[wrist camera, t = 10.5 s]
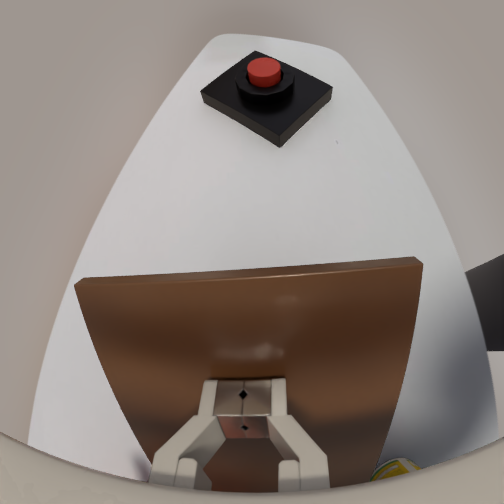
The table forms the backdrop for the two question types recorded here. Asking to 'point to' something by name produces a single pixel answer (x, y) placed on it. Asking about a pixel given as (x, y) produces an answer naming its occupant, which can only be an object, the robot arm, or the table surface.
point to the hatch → (261, 355)
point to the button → (264, 72)
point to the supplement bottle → (394, 468)
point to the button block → (268, 99)
